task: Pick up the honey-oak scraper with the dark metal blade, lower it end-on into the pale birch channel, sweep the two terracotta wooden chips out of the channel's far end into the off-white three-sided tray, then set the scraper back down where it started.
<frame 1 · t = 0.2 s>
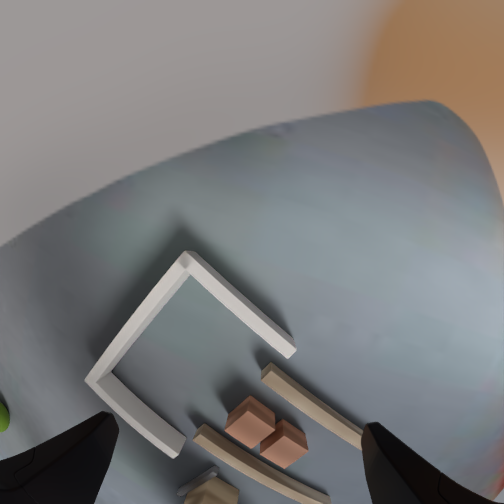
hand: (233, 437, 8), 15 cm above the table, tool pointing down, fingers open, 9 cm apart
scraper: (214, 488, 23), on the table
snail figurine: (5, 407, 25), on the table
channel: (301, 447, 23), on the table
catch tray: (184, 360, 23), on the table
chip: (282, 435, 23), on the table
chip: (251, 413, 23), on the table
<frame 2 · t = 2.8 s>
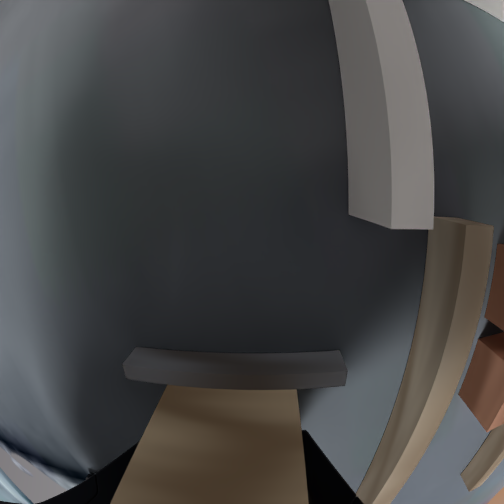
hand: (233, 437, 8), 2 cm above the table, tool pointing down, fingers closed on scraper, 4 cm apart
scraper: (237, 408, 9), on the table, touching gripper
channel: (472, 403, 9), on the table
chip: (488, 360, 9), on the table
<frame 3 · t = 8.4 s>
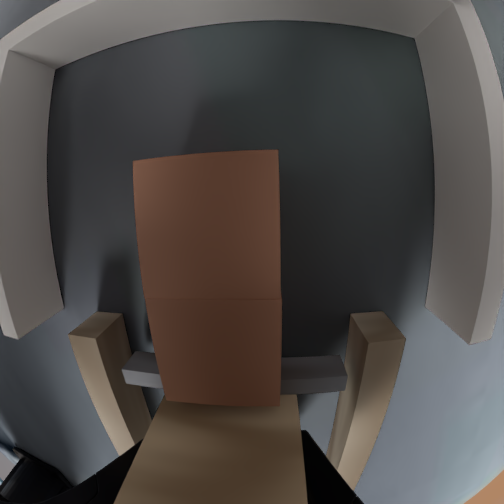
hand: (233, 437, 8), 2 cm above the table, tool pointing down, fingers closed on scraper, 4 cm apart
scraper: (237, 412, 9), point 1 cm above the table, touching gripper
channel: (244, 469, 11), on the table
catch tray: (221, 143, 8), on the table
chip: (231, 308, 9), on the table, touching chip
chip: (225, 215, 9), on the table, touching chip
when the fingers open (2 cm above the table, at t = 14.0 s): scraper drops 1 cm, on the table.
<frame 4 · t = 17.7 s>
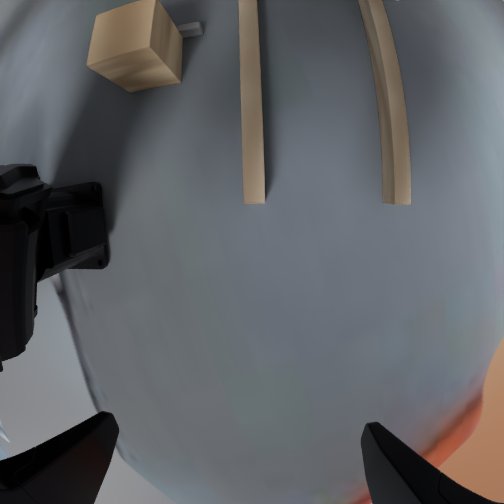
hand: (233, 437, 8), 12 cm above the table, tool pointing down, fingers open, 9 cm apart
scraper: (156, 64, 16), on the table
channel: (319, 73, 16), on the table
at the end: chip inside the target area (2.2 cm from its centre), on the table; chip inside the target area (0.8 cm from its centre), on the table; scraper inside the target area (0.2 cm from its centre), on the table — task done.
